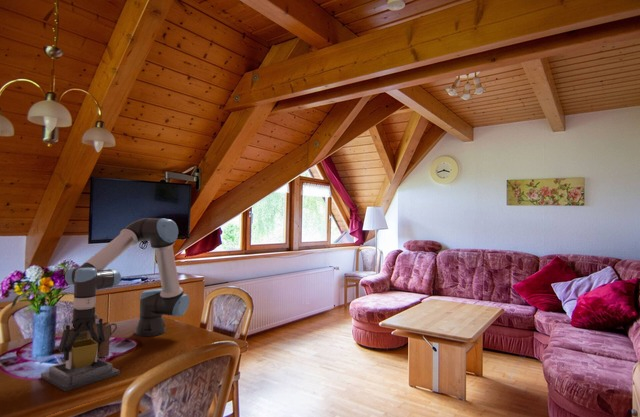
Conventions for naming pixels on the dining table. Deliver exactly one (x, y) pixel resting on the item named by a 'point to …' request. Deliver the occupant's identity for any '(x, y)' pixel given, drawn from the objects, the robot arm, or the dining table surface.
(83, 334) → the cup
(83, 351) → the flower pot
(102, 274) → the robot arm
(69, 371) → the collar stand
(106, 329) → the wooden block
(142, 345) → the dining table surface
